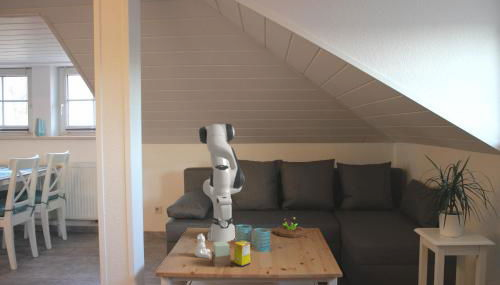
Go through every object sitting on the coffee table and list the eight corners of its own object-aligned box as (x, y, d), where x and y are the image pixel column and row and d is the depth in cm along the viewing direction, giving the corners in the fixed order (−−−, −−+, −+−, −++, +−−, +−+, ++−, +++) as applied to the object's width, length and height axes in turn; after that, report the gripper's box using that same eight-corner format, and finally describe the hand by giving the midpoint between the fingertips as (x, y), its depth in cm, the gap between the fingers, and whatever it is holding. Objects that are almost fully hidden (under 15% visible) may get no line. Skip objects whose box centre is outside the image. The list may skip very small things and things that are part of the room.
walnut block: (211, 261, 185) (211, 251, 184) (226, 259, 187) (226, 250, 187) (214, 267, 177) (214, 257, 177) (230, 265, 179) (230, 255, 179)
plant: (296, 239, 223) (296, 221, 222) (269, 234, 234) (270, 217, 233) (310, 232, 239) (311, 215, 239) (285, 227, 250) (285, 211, 250)
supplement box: (242, 260, 185) (242, 239, 185) (250, 264, 181) (250, 242, 181) (233, 263, 181) (233, 242, 181) (241, 267, 177) (242, 245, 176)
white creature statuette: (210, 258, 188) (210, 236, 187) (193, 259, 187) (194, 236, 186) (210, 252, 197) (210, 230, 197) (194, 253, 196) (194, 231, 196)
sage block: (213, 251, 184) (213, 242, 184) (226, 250, 186) (226, 241, 186) (215, 256, 177) (215, 246, 177) (229, 255, 179) (229, 245, 179)
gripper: (211, 194, 190) (211, 220, 190) (219, 201, 170) (219, 230, 171) (223, 193, 192) (222, 219, 192) (232, 201, 172) (232, 229, 173)
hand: (221, 224), depth 181 cm, fingers open, 3 cm apart
